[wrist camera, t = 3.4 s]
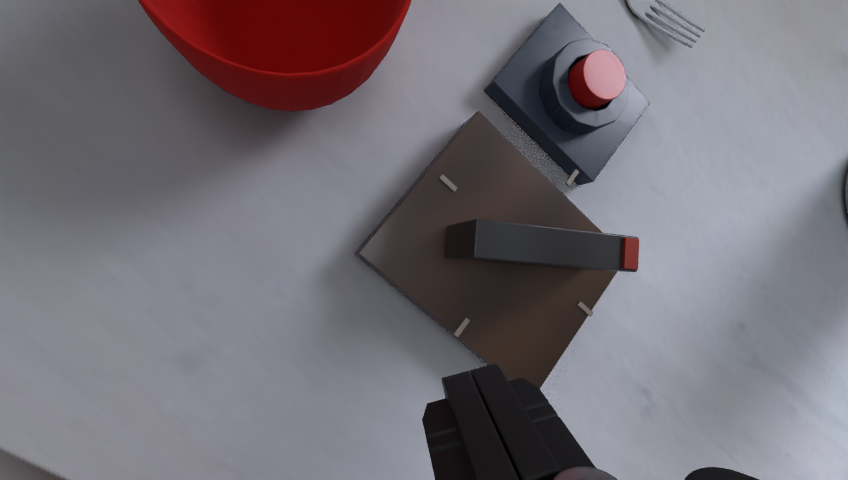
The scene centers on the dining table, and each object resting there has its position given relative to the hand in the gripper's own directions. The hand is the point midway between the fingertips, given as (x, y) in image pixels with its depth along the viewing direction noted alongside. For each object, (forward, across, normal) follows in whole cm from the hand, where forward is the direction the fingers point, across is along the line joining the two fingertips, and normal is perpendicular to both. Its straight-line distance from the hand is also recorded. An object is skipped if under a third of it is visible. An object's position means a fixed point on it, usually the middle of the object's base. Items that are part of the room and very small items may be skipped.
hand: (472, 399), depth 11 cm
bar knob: (+17, -8, +3) cm, 19 cm away
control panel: (+19, -6, +3) cm, 21 cm away
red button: (+21, -16, -8) cm, 27 cm away
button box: (+24, -16, -7) cm, 29 cm away
